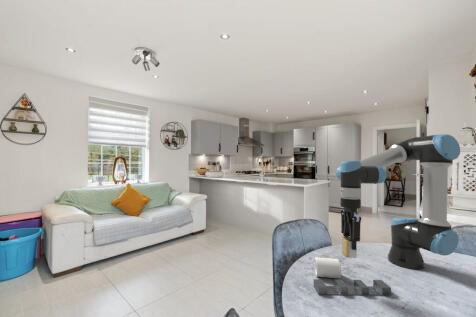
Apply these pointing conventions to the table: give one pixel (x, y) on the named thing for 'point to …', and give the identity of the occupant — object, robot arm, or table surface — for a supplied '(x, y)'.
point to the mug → (327, 267)
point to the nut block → (345, 246)
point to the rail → (352, 288)
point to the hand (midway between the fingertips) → (350, 254)
